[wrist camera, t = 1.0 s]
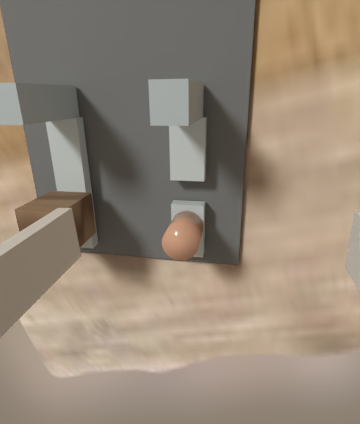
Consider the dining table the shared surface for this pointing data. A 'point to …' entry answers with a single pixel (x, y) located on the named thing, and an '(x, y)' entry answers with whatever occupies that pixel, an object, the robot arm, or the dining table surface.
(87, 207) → the block
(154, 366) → the dining table surface
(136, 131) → the mat
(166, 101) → the broken strip
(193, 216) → the peach egg shape
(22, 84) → the grey stepped bracket
